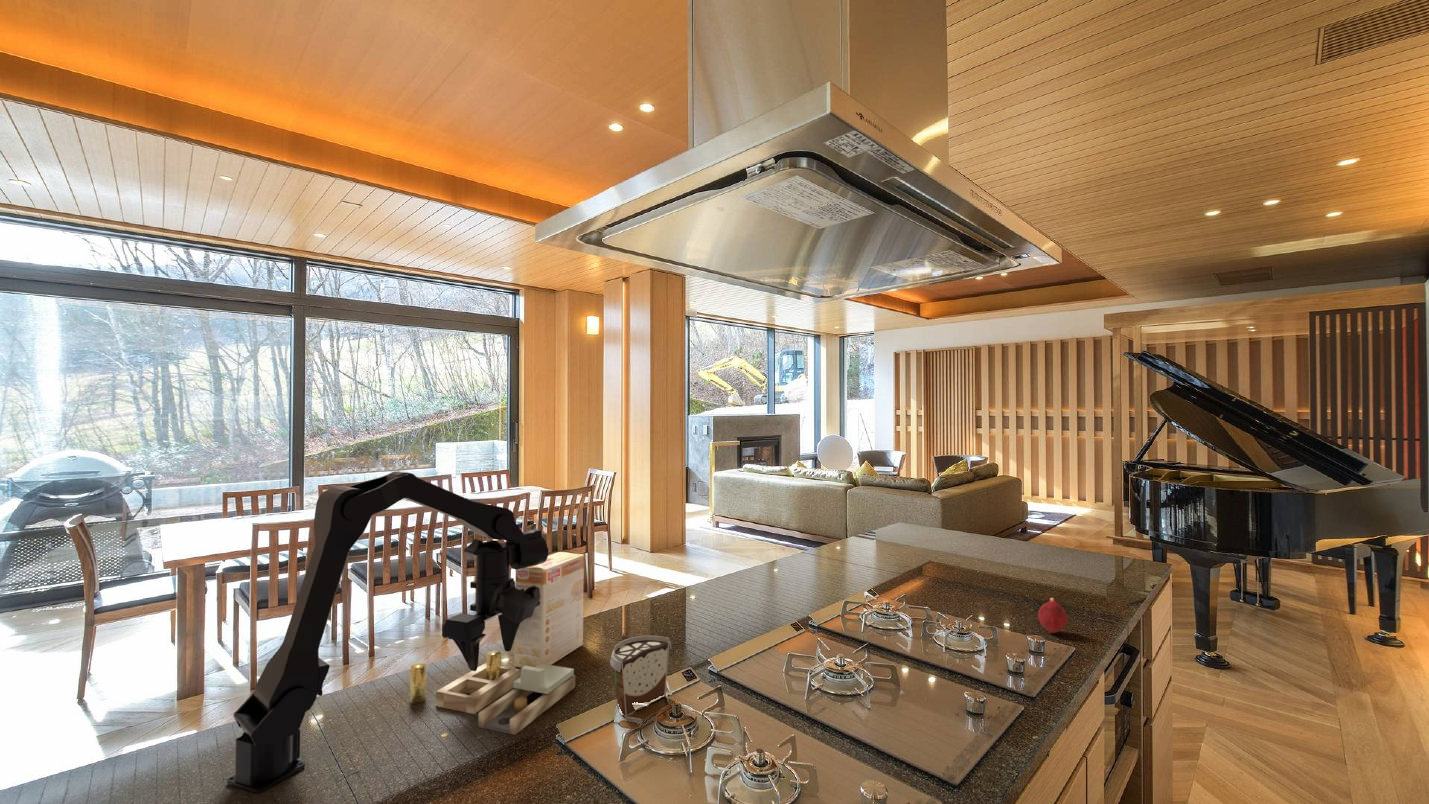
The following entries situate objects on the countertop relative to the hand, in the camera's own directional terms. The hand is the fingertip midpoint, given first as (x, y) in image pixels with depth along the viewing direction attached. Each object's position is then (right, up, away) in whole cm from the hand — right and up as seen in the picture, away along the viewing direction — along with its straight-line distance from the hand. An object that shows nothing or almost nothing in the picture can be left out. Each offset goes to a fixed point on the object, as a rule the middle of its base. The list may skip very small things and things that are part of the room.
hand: (491, 660), depth 108 cm
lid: (+11, -2, -3) cm, 11 cm away
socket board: (-1, -5, -3) cm, 6 cm away
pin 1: (-11, -5, -5) cm, 13 cm away
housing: (+9, -5, -7) cm, 12 cm away
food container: (+27, -5, -5) cm, 28 cm away
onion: (+119, -6, +28) cm, 122 cm away
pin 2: (0, -5, 0) cm, 5 cm away
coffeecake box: (+7, -5, +14) cm, 16 cm away
